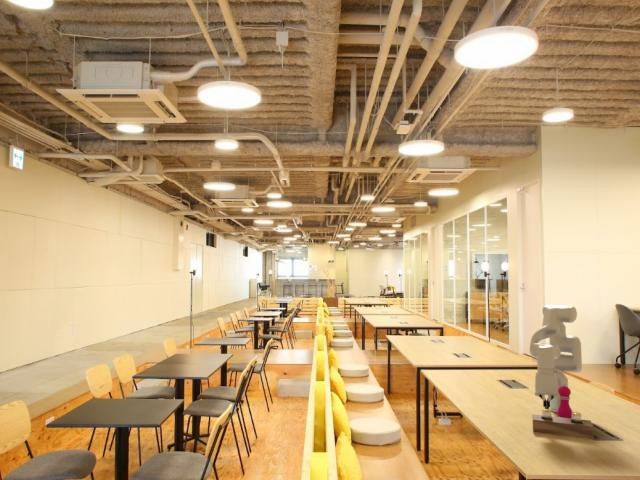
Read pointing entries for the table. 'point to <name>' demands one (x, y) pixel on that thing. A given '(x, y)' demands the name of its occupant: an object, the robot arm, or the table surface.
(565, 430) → the collar block
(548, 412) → the peg
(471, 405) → the table surface
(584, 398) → the table surface
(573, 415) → the peg
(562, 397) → the pepper mill
